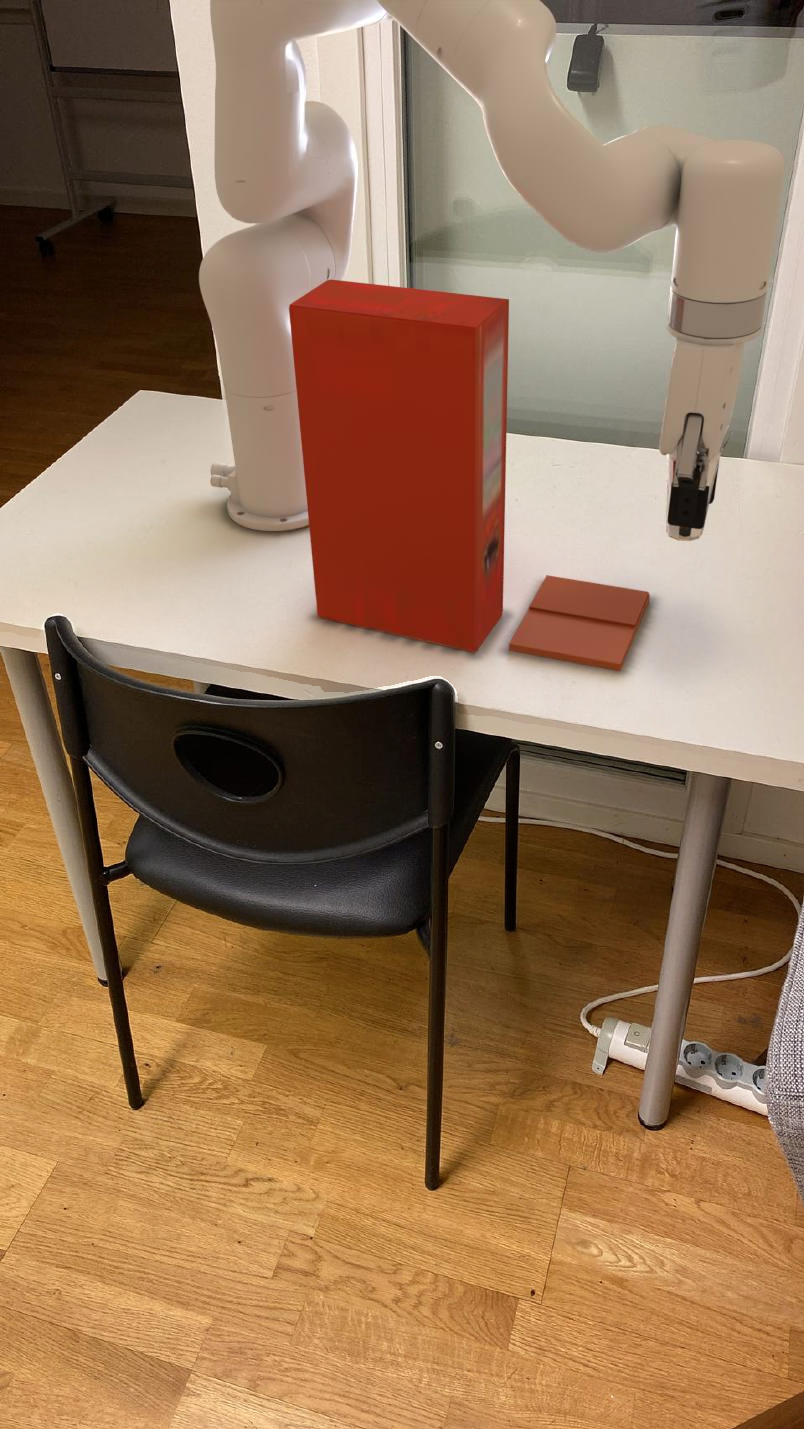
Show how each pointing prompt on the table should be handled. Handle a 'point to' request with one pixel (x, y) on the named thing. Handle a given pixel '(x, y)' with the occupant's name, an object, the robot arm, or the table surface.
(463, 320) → the file binder
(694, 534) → the milkshake
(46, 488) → the table surface
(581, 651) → the cloth
